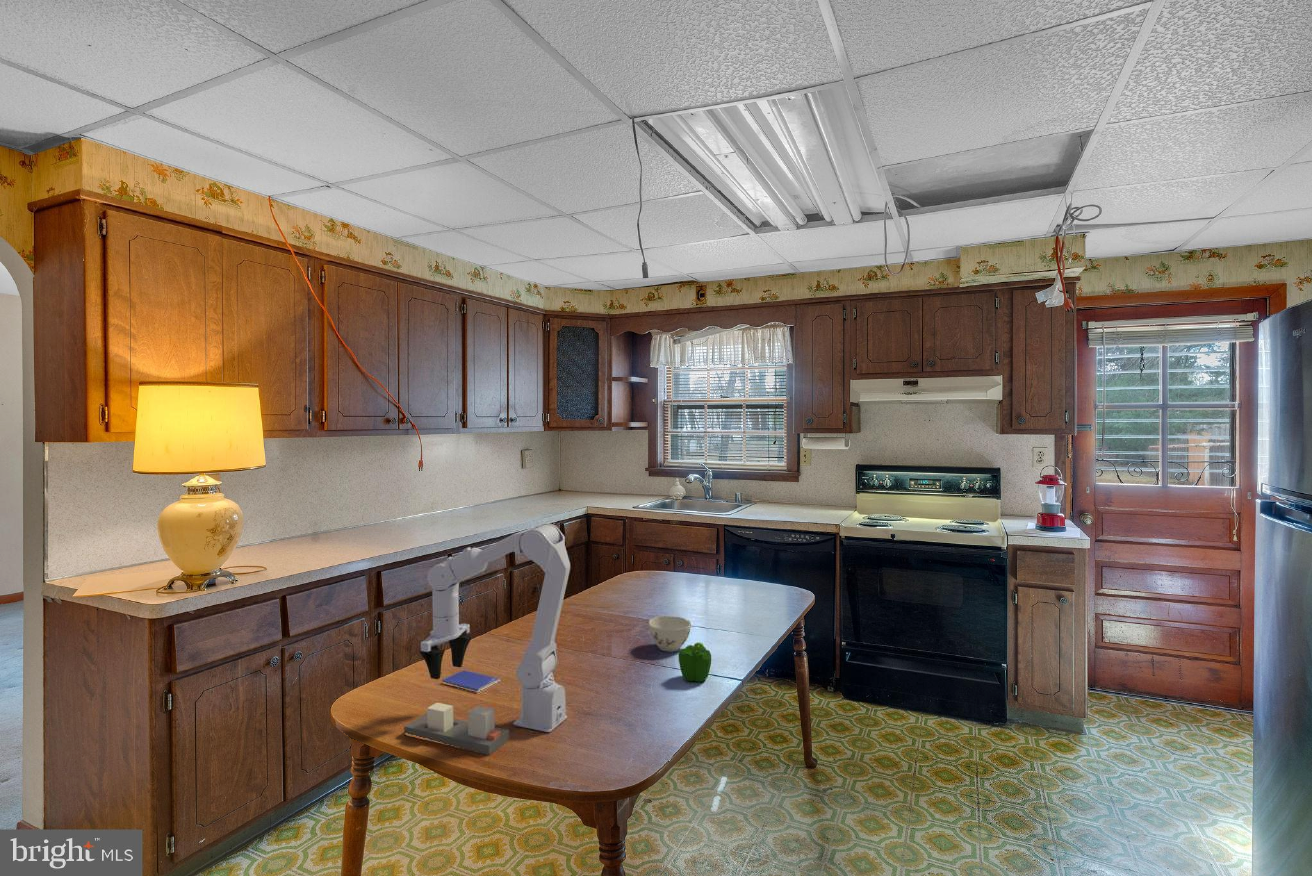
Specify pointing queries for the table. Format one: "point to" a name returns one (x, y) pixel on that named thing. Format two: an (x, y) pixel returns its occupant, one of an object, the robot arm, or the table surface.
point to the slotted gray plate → (465, 731)
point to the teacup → (669, 632)
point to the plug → (440, 717)
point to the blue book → (471, 680)
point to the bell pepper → (695, 662)
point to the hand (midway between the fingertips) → (446, 672)
